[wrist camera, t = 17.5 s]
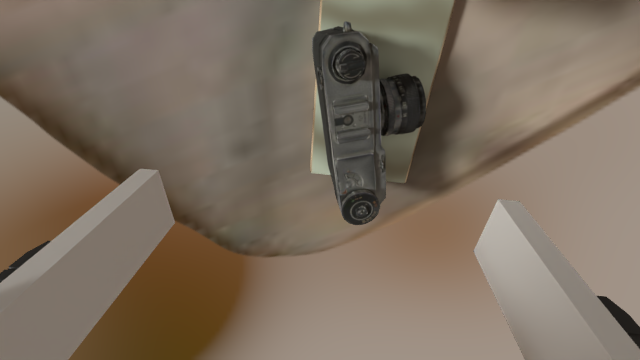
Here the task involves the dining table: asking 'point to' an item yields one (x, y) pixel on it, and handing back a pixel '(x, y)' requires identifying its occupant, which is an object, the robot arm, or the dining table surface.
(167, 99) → the dining table surface
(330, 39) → the camera
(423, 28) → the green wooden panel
